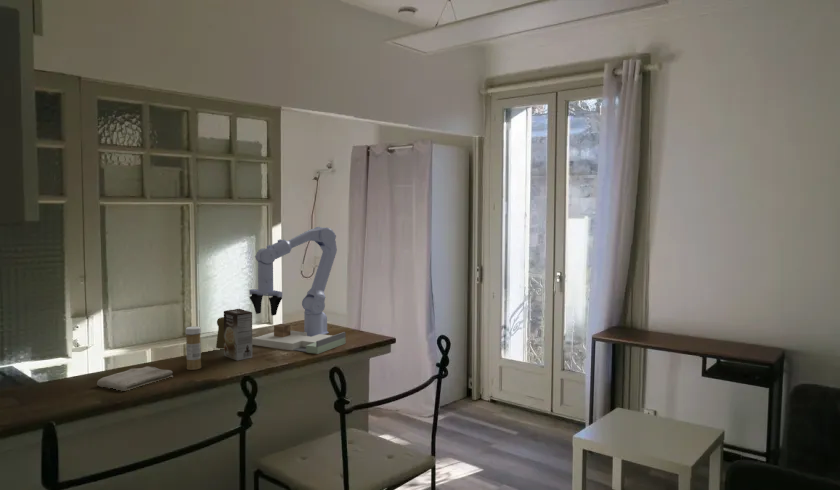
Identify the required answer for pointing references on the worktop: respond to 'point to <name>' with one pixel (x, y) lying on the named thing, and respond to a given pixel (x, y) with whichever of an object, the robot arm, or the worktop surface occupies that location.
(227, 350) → the coffee box
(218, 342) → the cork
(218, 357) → the worktop surface
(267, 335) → the trap deck
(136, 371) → the washcloth
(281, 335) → the walnut block
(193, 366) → the sprinkles bottle
